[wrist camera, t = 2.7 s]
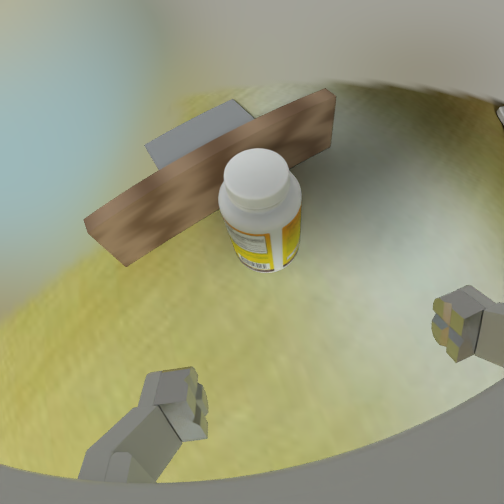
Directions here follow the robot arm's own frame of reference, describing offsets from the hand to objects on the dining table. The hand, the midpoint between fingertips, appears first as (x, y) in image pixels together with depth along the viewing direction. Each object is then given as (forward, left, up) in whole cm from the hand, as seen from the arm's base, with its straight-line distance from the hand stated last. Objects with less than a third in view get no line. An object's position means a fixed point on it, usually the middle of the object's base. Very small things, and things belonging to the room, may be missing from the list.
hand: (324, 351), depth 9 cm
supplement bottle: (-4, -11, -15) cm, 19 cm away
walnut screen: (-4, -17, -15) cm, 23 cm away
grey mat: (-5, -25, -15) cm, 29 cm away
